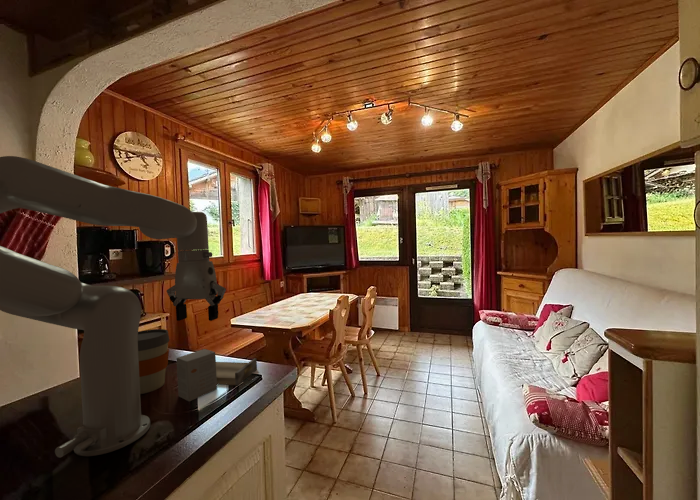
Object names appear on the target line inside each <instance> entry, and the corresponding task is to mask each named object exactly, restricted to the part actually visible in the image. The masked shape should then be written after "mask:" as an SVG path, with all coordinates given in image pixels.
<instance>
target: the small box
mask: <svg viewBox="0 0 700 500" xmlns="http://www.w3.org/2000/svg"><path fill="white" fill-rule="evenodd" d="M216 362H217V360H216V352H215V351H213V350H210V349H205V348H203V349H200V350H197V351H194V352H190V353H188V354H184V355H182V356H178V357H176V374H177V377H176V378H177V391H178V392H177V393H178V397H179V398H182V399H183V400H185V401H186V402H191V401H194V400H196V399H199V398H200V397H202V396H205V395H208V394H209V393H212V392H214V391H216V390H218V384H217V375H216Z"/></svg>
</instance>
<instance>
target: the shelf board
mask: <svg viewBox="0 0 700 500" xmlns="http://www.w3.org/2000/svg"><path fill="white" fill-rule="evenodd" d="M257 360H258V359H257V358H253V359H251V360H250V361H249V362H239V361H237V362H235V361H234V362H233V361H216V375H217V385H220V386H222V385H224V386H239V385H240V384H241V383H243V382H244V381H245V380H246V379H248V378H249V377H250V376H251V375H252V374H254V373H255V372H256V371H257V370H258V363H257V362H258V361H257Z"/></svg>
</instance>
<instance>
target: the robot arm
mask: <svg viewBox="0 0 700 500" xmlns="http://www.w3.org/2000/svg"><path fill="white" fill-rule="evenodd" d="M15 209H25V210H30V211H34V212H37V213H41V214H48V215H51V216H54V217H55V216H56V217H59V218H65V219H67V220H68V219H69V220H72V221H76V222H81V223H84V224H89V225H95V226H97V225H98V226H104V227H105V226H106V227H108V226H109V227H135V228H139V230H140V232H141V233H142V234H143V235H144V236H146V237H148V238H150V239H154V240H166V239H167V240H168V239H176V242H177V243H176V245H177V246H176V247H177V261H178V262H177V263H176V266H175V273H174V274H175V275H174V285H172V286H171V287H170V288H168V289H166V294H167V295H168V297H169V300H170V302H171V303H172V304H173V306H174V307H175V316H176V321H177V322H180V321H183V320H185V319H187V318H188V313H187V312H188V311H187V303H186V301H187V300H206V302H207V303H208V306H207V314H208V321H209V322H212V321H215V320H217V319H218V318H219V304H220V303H221V301H222V300H223V298H224V296H225V293H226V291H227V289H226V287H224V286H222V285H220V284H219V283H218V281H217V273H216V269H215V265H214V263H213V261H210V258H212V257H213V253H212V251H211V252H210V250H209V249H210V248H209V233H208V231H209V230H208V217H207V214H206V213H204V212H203V211H195V210H191V209H189V208H188V207H187V206H184V205H182V204H180V203H178V202H176V201H175V202H174V201H172V200H169V199H167V198H164V197H160V196H156V195H153V194H149V193H145V192H144V193H143V192H139V191H135V190H129V189H126V188H121V187H117V186H111V185H107V184H103V183H100V182H97V181H94V180H92V179H88V178H85V177H84V176H79V175H77V174H74V173H70V172H68V171H65V170H62V169H59V168H57V167H54V166H51V165H48V164H45V163H43V162H42V163H41V162H39V161H36V160H32V159H29V158H26V157H21V156H16V155H5V156H4V155H3V156H0V214H4V213H5V212H8V211H12V210H15ZM0 311H1V312H4V313H6V314H9V315H13V316H16V317H17V316H18V317H21V318H25V319H29V320H34V321H38V322H43V323H48V324H51V325H56V326H60V327H65V328H69V329H75V330H80V331H81V330H82V331H83V337H82V341H81V344H80V351H79V370H80V371H79V373H80V387H81V388H80V390H81V405H82V406H81V407H82V409H81V410H82V425H80V426H79V427H77V429H76V432H77V434H75V435H74V436H73V438H71V439H70V440H68V441H66V442H64V443H62V444H61V445H59V446H57V447H56V448H55V450H54V453H55V456H56V457H57V458H63V457H64V456H66V455H68V454H69V453H71V452H72V451H73V452H74V454H76V455H77V456H80V457H95V456H100V455H106V454H108V453H112V452H114V451H117V450H120V449H122V448H125V447H126V446H128V445H131V444H133V443H134V442H136V441H137V440H139V439H140V438H141V437H143V436H144V435H145V434H146V433H147V432H148V430H149V429H150V427H151V419H150V417H149V416H147V415H145V414H142V407H141V406H142V404H141V403H142V402H141V394H140V379H139V359H138V332H139V328H140V321H141V316H142V305H141V301H140V300H139V298H138V296H137V295H136V294H135V293H134V292H133V291H131V290H130V289H128V288H125V287H122V286H117V285H90V284H88V283H84V282H82V281H80V279H79V278H78V277H77V276H76V275H75V273H72V272H71V271H69V270H67V269H65V268H63V267H60V266H56V265H53V264H51V263H47V262H45V261H41V260H38V259H35V258H33V257H30V256H27V255H25V254H21V253H18V252H17V251H14V250H11V249H9V248H7V247H5V246H1V245H0Z"/></svg>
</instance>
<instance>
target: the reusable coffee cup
mask: <svg viewBox="0 0 700 500" xmlns="http://www.w3.org/2000/svg"><path fill="white" fill-rule="evenodd" d="M169 342H170V336H169V331H168V330H167V329H165V328H164V329H162V328H157V329H156V328H155V329H145V330H138V359H139V379H140V395H143V394H147V393H150V392H155V391H157V390H158V389H160V388H161V387H163V386H164V385H165V379H166V369H167V367H168V365H169V356H170V355H169V352H170V350H169V349H168V347H169Z"/></svg>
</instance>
